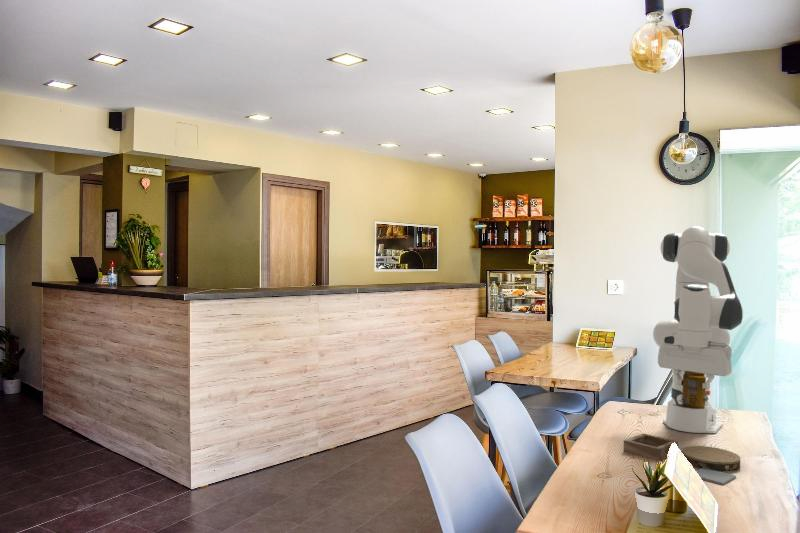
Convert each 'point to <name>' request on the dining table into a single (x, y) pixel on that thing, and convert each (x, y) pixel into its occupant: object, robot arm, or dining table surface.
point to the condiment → (693, 391)
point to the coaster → (715, 476)
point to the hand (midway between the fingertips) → (693, 387)
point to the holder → (648, 446)
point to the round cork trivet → (712, 458)
